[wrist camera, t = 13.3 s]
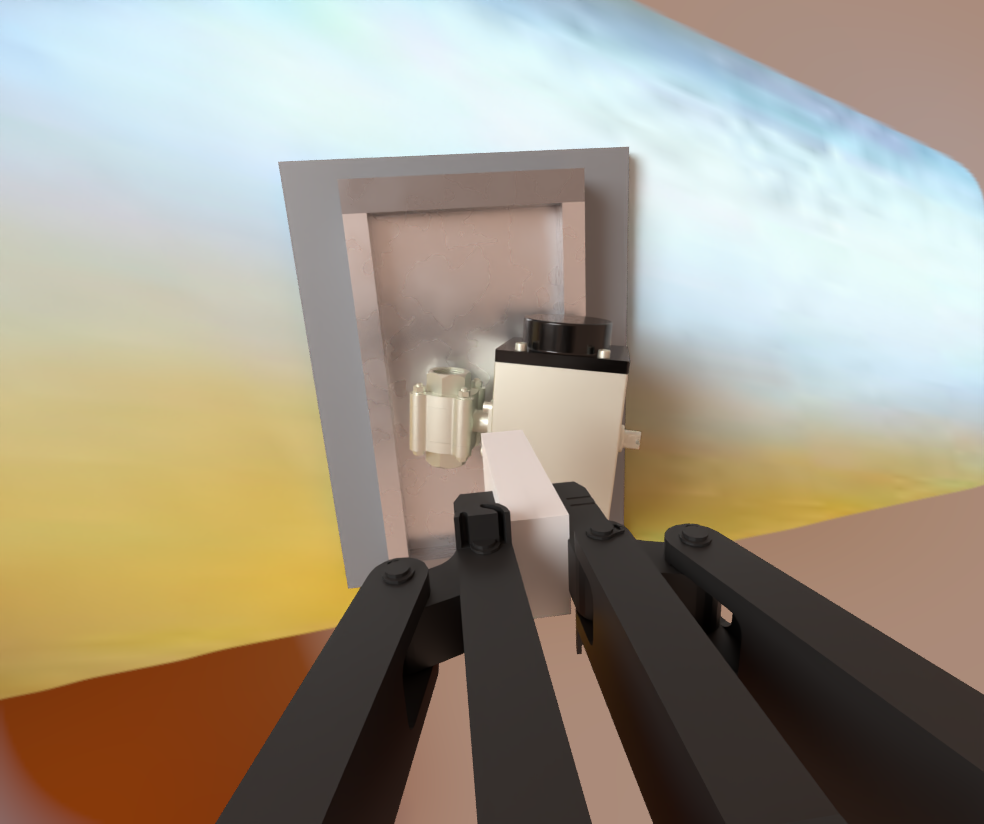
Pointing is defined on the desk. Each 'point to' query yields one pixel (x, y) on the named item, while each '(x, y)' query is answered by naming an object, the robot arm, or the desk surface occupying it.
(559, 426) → the pneumatic valve
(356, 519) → the mounting board
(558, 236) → the shallow rectangular tray
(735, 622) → the robot arm
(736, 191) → the desk surface
